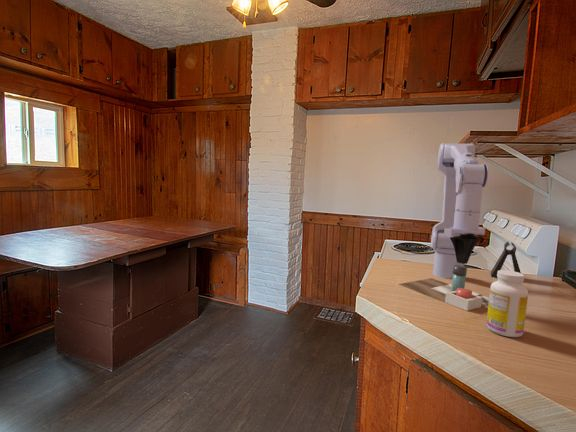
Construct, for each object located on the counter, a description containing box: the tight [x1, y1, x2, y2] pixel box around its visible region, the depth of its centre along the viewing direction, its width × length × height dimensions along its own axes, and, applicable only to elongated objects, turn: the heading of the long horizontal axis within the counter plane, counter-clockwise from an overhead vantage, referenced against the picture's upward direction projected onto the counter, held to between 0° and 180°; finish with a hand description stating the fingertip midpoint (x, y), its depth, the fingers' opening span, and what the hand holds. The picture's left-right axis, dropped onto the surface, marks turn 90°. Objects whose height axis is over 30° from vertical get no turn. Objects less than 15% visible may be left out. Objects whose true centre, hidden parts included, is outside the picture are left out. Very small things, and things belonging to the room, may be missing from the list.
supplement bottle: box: [486, 269, 529, 338], centre depth 68 cm, size 7×7×13 cm
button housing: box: [444, 290, 482, 312], centre depth 81 cm, size 6×6×2 cm
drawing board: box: [397, 277, 489, 312], centre depth 89 cm, size 15×21×1 cm
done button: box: [456, 288, 473, 299], centre depth 80 cm, size 3×3×2 cm
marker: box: [451, 265, 468, 292], centre depth 86 cm, size 3×3×8 cm
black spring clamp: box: [490, 241, 522, 279], centre depth 110 cm, size 9×6×12 cm, turn 59°
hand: (461, 262), depth 84 cm, fingers closed
